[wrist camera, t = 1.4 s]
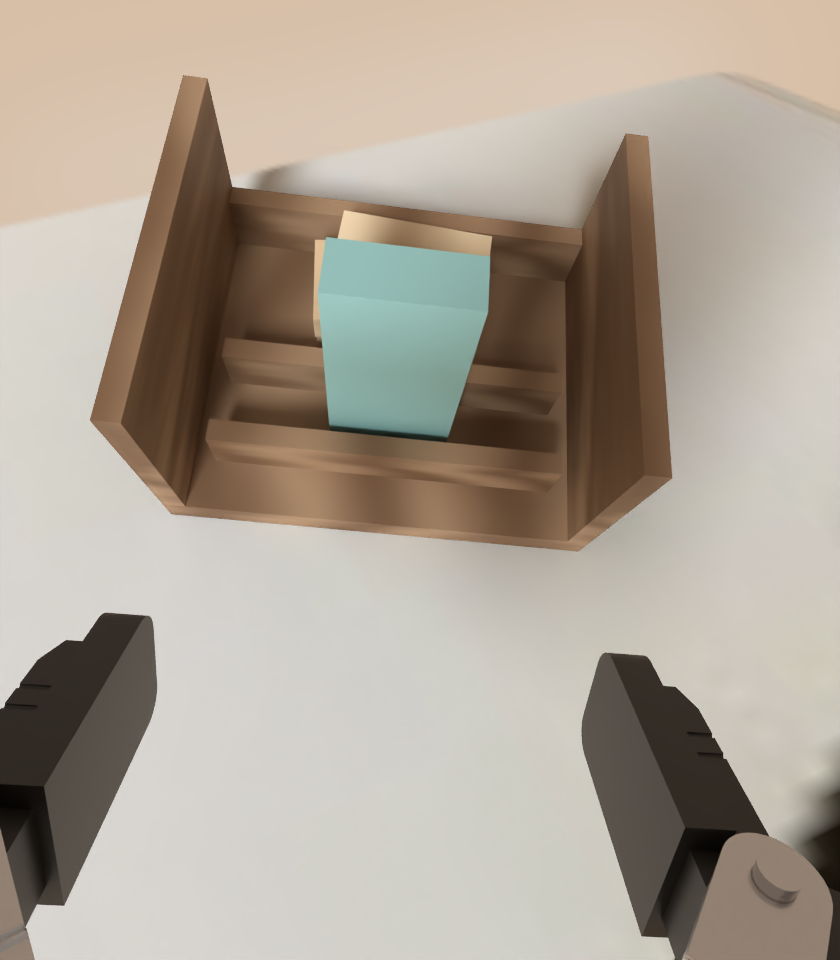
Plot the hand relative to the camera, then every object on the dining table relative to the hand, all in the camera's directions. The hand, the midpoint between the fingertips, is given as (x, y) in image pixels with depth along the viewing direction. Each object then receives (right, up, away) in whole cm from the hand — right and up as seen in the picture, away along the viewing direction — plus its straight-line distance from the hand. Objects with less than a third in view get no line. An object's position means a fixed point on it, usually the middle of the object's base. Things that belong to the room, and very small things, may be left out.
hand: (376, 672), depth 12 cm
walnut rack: (-1, +8, +23) cm, 25 cm away
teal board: (-1, +6, +21) cm, 22 cm away
